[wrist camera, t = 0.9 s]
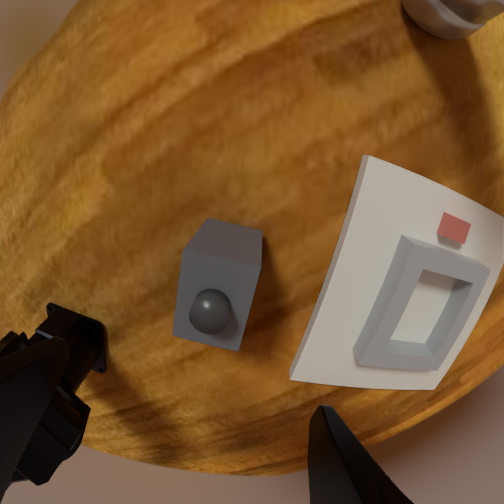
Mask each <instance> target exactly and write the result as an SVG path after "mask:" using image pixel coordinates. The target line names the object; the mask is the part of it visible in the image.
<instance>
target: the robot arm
mask: <svg viewBox="0 0 504 504" xmlns="http://www.w3.org/2000/svg"><path fill="white" fill-rule="evenodd" d="M46 308H47V315H48V318H47V319H46V320H45V321H44V322H43V323H42V324H41V325H40V326H39V327H37V328H36V330H35V331H36V333H35V334H34V335H33V336H32V337H31V338H30V339H29V340H28V338H27V335H26V334H25V333H24V331H23V332H22V333H21V334H20V335H18V334H16V333H14V332H13V331H10V332H9V333H8V334H7V335H6V336H5V337H4V338H3V339H2V340H1V341H0V503H1V501H2V499H3V496H4V494H5V491H6V490H7V489H8V487H9V486H10V485H11V484H12V483H13V482H20V481H26V480H30V481H31V482H33V483H34V484H35V485H38V486H39V485H41V484H44V483H46V482H48V481H49V480H50V478H51V477H52V475H53V473H54V472H55V470H56V469H57V467H58V466H59V465H60V464H61V463H62V461H64V460H66V459H68V458H69V457H71V456H72V455H73V454H74V453H75V452H76V450H77V449H78V447H79V446H80V444H81V441H82V438H83V435H84V431H85V427H86V424H87V420H88V417H89V413H90V410H91V408H90V407H89V406H88V405H87V404H85V403H84V402H83V401H82V400H81V399H80V398H79V397H78V396H77V395H76V394H75V393H76V391H77V389H78V388H79V386H80V385H81V383H82V382H83V380H84V379H85V377H86V376H87V374H88V373H89V371H90V370H91V369H92V370H95V371H97V372H100V373H105V372H106V370H107V367H106V359H105V349H104V338H103V326H102V324H101V323H100V322H99V321H97V320H94V319H92V318H89V317H86V316H84V315H81V314H78V313H76V312H73V311H71V310H68V309H66V308H63V307H61V306H58V305H56V304H53V303H49V304H47V306H46ZM308 475H309V489H310V490H309V491H310V504H414V503H413V502H412V501H411V500H409V499H408V498H407V497H406V496H405V495H404V494H403V493H402V492H401V491H400V490H399V489H398V487H397V486H396V485H395V484H394V483H393V482H392V481H391V480H390V478H389V477H388V476H387V475H385V472H384V471H383V470H382V469H381V467H380V466H379V465H378V464H377V462H376V461H375V460H374V459H373V457H372V456H371V455H370V454H369V453H368V452H367V450H366V449H365V448H364V446H363V445H362V444H361V443H360V441H359V440H358V439H357V438H356V436H355V435H354V434H353V433H352V431H351V430H350V429H349V428H348V426H347V425H346V424H345V422H344V421H343V420H342V419H341V417H340V416H339V415H338V414H337V412H336V411H335V410H334V408H333V407H332V406H330V405H319V406H318V408H317V409H316V411H315V412H314V414H313V416H312V417H311V419H310V424H309V444H308Z"/></svg>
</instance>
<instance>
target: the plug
mask: <svg viewBox="0 0 504 504" xmlns="http://www.w3.org/2000/svg"><path fill="white" fill-rule="evenodd" d="M262 233H263V231H262V230H258V229H253V228H249V227H245V226H240V225H236V224H232V223H227V222H223V221H219V220H214V219H210V218H208V219H207V220H206V221H205V222H204V224H203V225H202V226H201V227H200V229H199V230H198V231H197V232H196V234H195V235H194V236H193V237H192V239H191V240H190V241H189V243H188V244H187V245H186V246H185V248H184V249H183V255H182V262H181V269H180V276H179V283H178V291H177V299H176V308H175V316H174V326H173V336H176V337H180V338H184V339H187V340H191V341H195V342H199V343H203V344H208V345H212V346H216V347H220V348H225V349H229V350H234V351H239V348H240V344H241V340H242V337H243V333H244V329H245V326H246V322H247V318H248V315H249V311H250V307H251V304H252V300H253V296H254V292H255V289H256V285H257V281H258V278H259V274H260V270H261V260H262Z"/></svg>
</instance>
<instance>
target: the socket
mask: <svg viewBox="0 0 504 504" xmlns="http://www.w3.org/2000/svg"><path fill="white" fill-rule="evenodd" d="M503 264H504V217H502V216H500V215H498V214H497V213H495V212H493V211H491V210H490V209H488V208H486V207H484V206H482V205H480V204H479V203H477V202H475V201H473V200H471V199H469V198H467V197H465V196H463V195H461V194H459V193H457V192H455V191H453V190H451V189H449V188H447V187H445V186H443V185H440V184H438V183H436V182H434V181H432V180H429V179H427V178H425V177H423V176H420V175H418V174H416V173H413V172H411V171H408V170H406V169H403V168H401V167H398V166H396V165H393V164H391V163H388V162H386V161H383V160H380V159H378V158H375V157H372V156H369V155H363V157H362V161H361V165H360V169H359V172H358V176H357V180H356V183H355V187H354V190H353V194H352V197H351V201H350V204H349V207H348V211H347V214H346V217H345V220H344V224H343V227H342V230H341V233H340V236H339V239H338V242H337V246H336V249H335V252H334V255H333V258H332V260H331V263H330V266H329V269H328V272H327V275H326V278H325V281H324V283H323V286H322V289H321V292H320V294H319V297H318V300H317V302H316V305H315V308H314V310H313V313H312V316H311V318H310V321H309V323H308V326H307V328H306V331H305V333H304V336H303V338H302V341H301V343H300V346H299V348H298V351H297V353H296V355H295V358H294V360H293V362H292V365H291V367H290V369H289V374H290V380H295V381H303V382H310V383H318V384H327V385H337V386H347V387H360V388H376V389H400V390H434V389H435V388H436V386H437V385H438V384H439V382H440V381H441V379H442V378H443V376H444V375H445V374H446V372H447V371H448V369H449V368H450V366H451V365H452V363H453V361H454V360H455V358H456V357H457V355H458V354H459V352H460V350H461V349H462V347H463V345H464V344H465V342H466V340H467V339H468V337H469V335H470V333H471V332H472V330H473V328H474V326H475V324H476V322H477V321H478V319H479V317H480V315H481V313H482V311H483V309H484V307H485V305H486V303H487V301H488V299H489V296H490V294H491V292H492V290H493V288H494V285H495V283H496V281H497V279H498V276H499V274H500V271H501V269H502V266H503Z"/></svg>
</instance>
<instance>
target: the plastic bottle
mask: <svg viewBox="0 0 504 504" xmlns="http://www.w3.org/2000/svg"><path fill="white" fill-rule="evenodd" d="M401 2H402V4H403V7H404V8H405V10H406V12H407V13H408V15H409V16H410V17H411V19H412V20H413V21H414V22H415V23H416V24H417V25H419V26H420V27H421V28H422V29H424V30H425V31H427V32H429V33H430V34H432V35H435V36H437V37H440V38H442V39H447V40H454V39H461V38H466V37H469V36H470V35H472V34H473V33H475V32H476V31H478V30H479V29H480V28H481V27H482V26H483V25H484V24H485V23H486V22H488V21H489V20H491V19H493V18H494V17H496V16H498V15H499V14H501V13H503V12H504V0H401Z"/></svg>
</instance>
